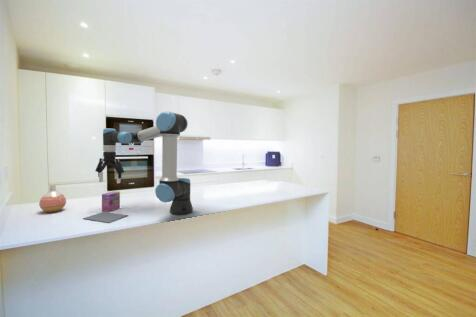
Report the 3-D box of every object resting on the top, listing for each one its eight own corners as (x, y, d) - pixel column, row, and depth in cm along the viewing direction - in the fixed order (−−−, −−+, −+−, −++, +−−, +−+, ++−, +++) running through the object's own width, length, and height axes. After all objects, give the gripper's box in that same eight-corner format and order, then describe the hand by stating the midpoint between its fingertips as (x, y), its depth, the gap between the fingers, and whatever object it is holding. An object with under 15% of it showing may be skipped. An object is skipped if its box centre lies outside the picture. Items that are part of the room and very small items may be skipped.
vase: (56, 214, 143) (55, 186, 142) (33, 214, 142) (32, 186, 141) (71, 208, 157) (70, 183, 156) (50, 208, 156) (49, 183, 155)
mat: (127, 216, 142) (127, 215, 142) (109, 223, 129) (109, 222, 129) (103, 212, 148) (103, 211, 148) (83, 219, 135) (83, 218, 135)
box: (109, 212, 150) (108, 194, 149) (101, 211, 151) (101, 194, 150) (120, 208, 160) (120, 191, 159) (113, 207, 161) (113, 191, 160)
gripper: (129, 151, 154) (129, 182, 156) (97, 150, 159) (98, 180, 160) (122, 152, 147) (122, 184, 148) (89, 151, 152) (89, 182, 153)
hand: (109, 182), depth 154 cm, fingers open, 13 cm apart
